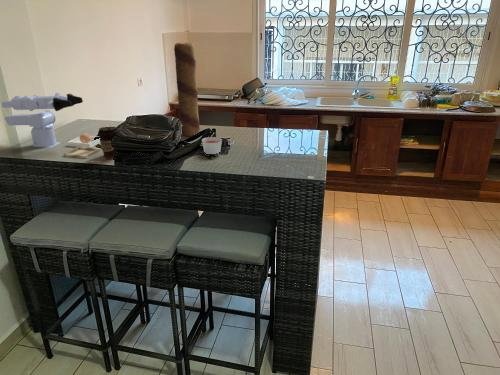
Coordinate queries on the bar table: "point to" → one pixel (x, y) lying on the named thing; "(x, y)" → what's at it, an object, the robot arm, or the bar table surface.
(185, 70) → the wafer roll
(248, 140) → the bar table surface
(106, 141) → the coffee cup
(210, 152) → the candle
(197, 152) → the bar table surface
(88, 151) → the tray
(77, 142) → the dish
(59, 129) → the bar table surface
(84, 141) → the ball
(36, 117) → the robot arm
